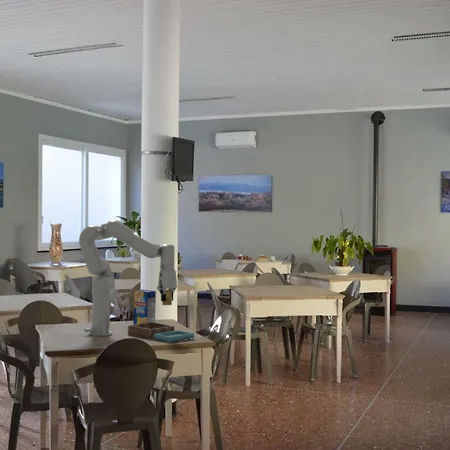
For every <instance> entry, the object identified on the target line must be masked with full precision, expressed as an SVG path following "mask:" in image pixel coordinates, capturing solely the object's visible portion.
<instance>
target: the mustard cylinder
mask: <svg viewBox="0 0 450 450" xmlns="http://www.w3.org/2000/svg"><path fill="white" fill-rule="evenodd" d="M165 294H166V301H165V302H164V301H161V304H162V306H172V304H173V303H172V302H173V301H172V290H169V289H166V291H165Z"/></svg>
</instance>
